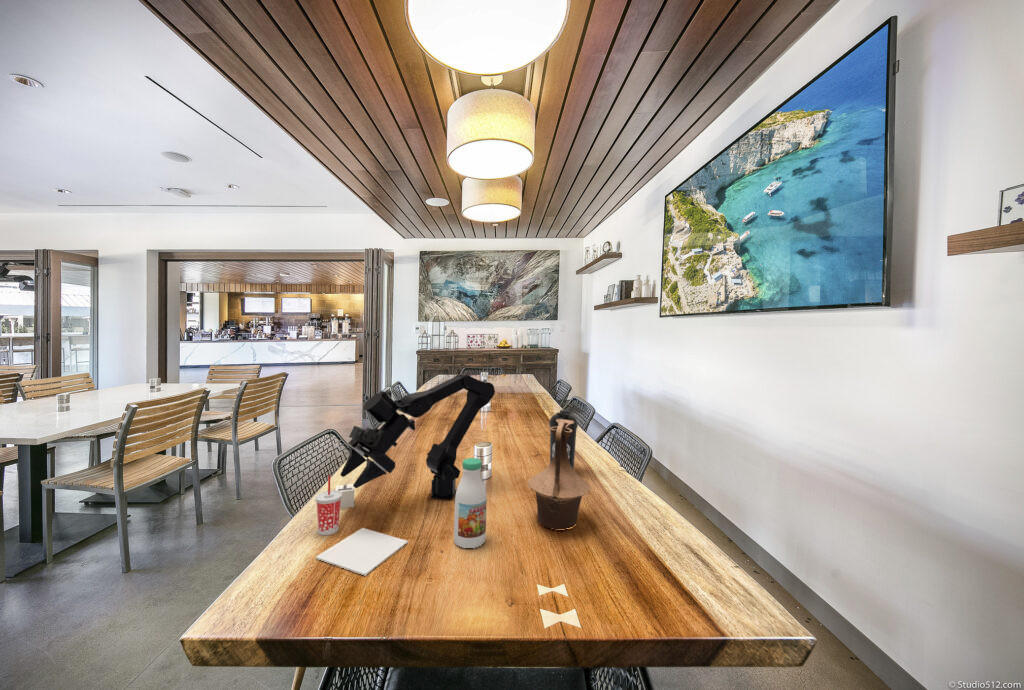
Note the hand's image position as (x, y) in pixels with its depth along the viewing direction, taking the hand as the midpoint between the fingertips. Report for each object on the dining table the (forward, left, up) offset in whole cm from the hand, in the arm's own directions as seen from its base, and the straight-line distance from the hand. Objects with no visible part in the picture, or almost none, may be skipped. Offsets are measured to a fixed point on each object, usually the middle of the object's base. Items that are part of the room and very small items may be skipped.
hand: (347, 481), depth 101 cm
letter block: (+7, -10, -11) cm, 17 cm away
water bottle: (-55, -48, -12) cm, 74 cm away
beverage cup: (+3, +4, -12) cm, 12 cm away
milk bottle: (-33, +2, -12) cm, 35 cm away
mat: (-10, +10, -11) cm, 18 cm away
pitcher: (-54, -12, -12) cm, 57 cm away
